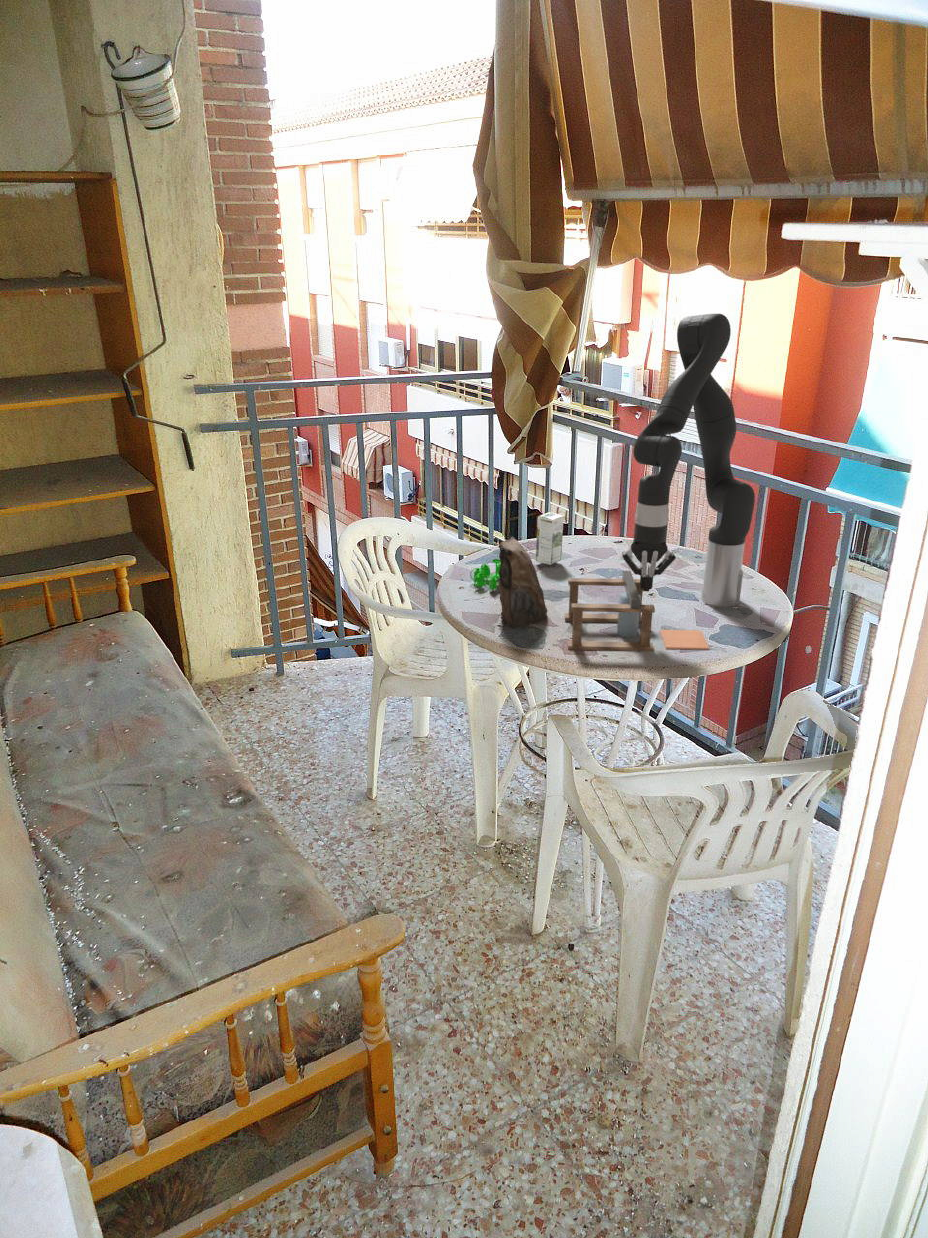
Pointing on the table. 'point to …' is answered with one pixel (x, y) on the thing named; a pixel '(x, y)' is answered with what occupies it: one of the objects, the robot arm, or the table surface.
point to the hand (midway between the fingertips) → (645, 590)
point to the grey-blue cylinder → (627, 620)
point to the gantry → (606, 617)
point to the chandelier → (486, 575)
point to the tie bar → (631, 589)
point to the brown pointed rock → (519, 587)
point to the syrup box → (549, 538)
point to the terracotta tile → (683, 639)
